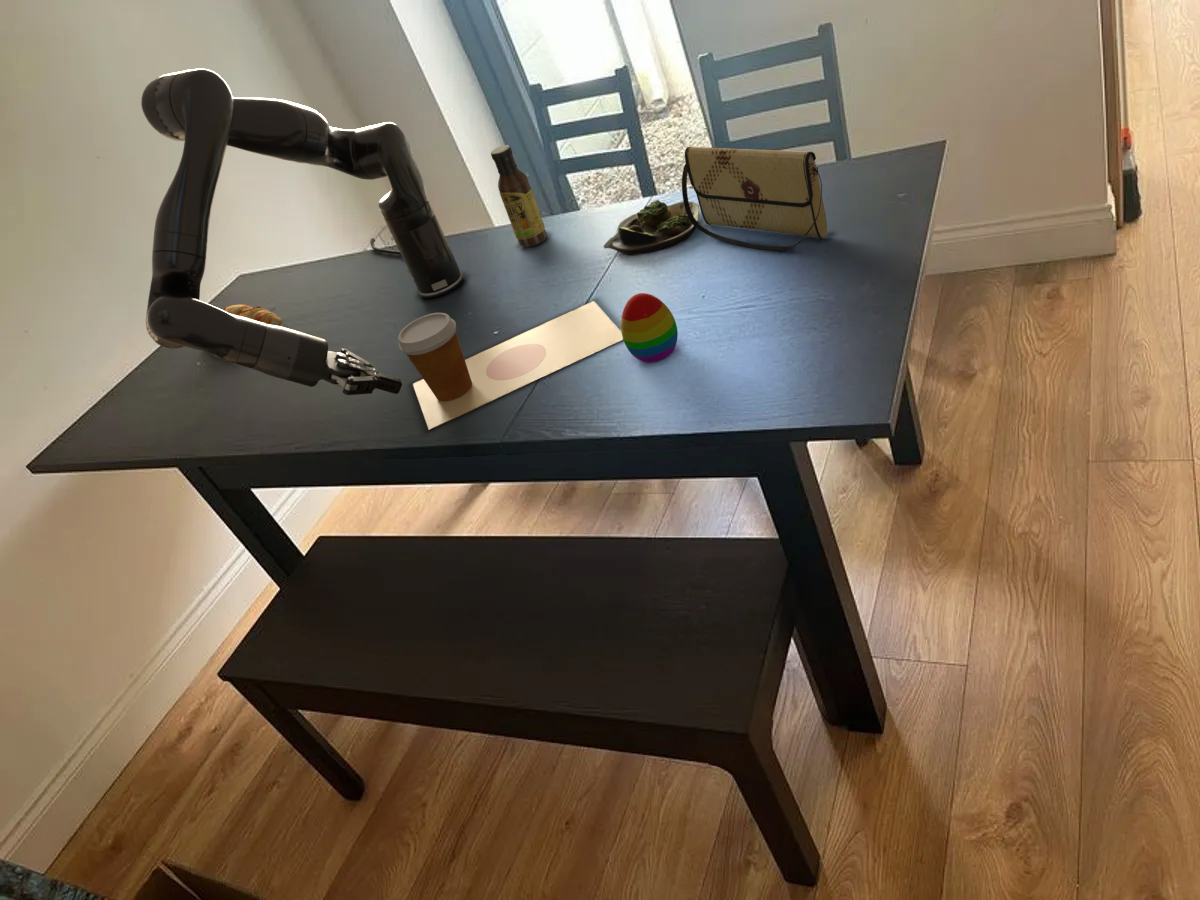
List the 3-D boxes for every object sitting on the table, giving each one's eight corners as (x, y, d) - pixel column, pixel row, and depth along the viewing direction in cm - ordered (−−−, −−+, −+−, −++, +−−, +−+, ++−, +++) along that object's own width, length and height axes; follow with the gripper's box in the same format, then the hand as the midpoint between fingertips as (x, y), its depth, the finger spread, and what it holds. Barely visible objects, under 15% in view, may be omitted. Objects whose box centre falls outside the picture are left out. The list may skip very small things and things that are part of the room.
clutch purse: (683, 238, 171) (660, 160, 163) (708, 220, 174) (687, 142, 166) (816, 257, 150) (798, 168, 141) (842, 235, 153) (825, 147, 144)
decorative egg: (675, 331, 145) (658, 274, 140) (688, 355, 138) (670, 296, 133) (626, 349, 146) (606, 294, 140) (636, 374, 139) (616, 317, 133)
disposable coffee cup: (471, 403, 147) (440, 338, 141) (418, 411, 151) (386, 349, 144) (488, 369, 155) (460, 306, 148) (438, 377, 158) (407, 316, 151)
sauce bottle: (513, 248, 193) (477, 156, 182) (533, 233, 196) (498, 142, 185) (535, 249, 189) (499, 155, 178) (555, 234, 192) (520, 141, 181)
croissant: (299, 334, 202) (292, 296, 201) (267, 338, 193) (259, 299, 192) (223, 344, 211) (216, 309, 209) (189, 349, 201) (181, 311, 200)
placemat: (412, 384, 159) (412, 383, 159) (593, 301, 162) (593, 300, 162) (429, 430, 145) (428, 429, 145) (626, 338, 148) (626, 337, 148)
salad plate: (619, 217, 188) (612, 196, 186) (706, 197, 182) (700, 175, 180) (602, 263, 174) (595, 241, 171) (696, 243, 168) (690, 219, 165)
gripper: (299, 350, 135) (414, 383, 143) (296, 317, 146) (402, 349, 154) (283, 395, 137) (397, 425, 145) (281, 359, 148) (386, 389, 156)
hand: (399, 386), depth 149 cm, fingers closed
